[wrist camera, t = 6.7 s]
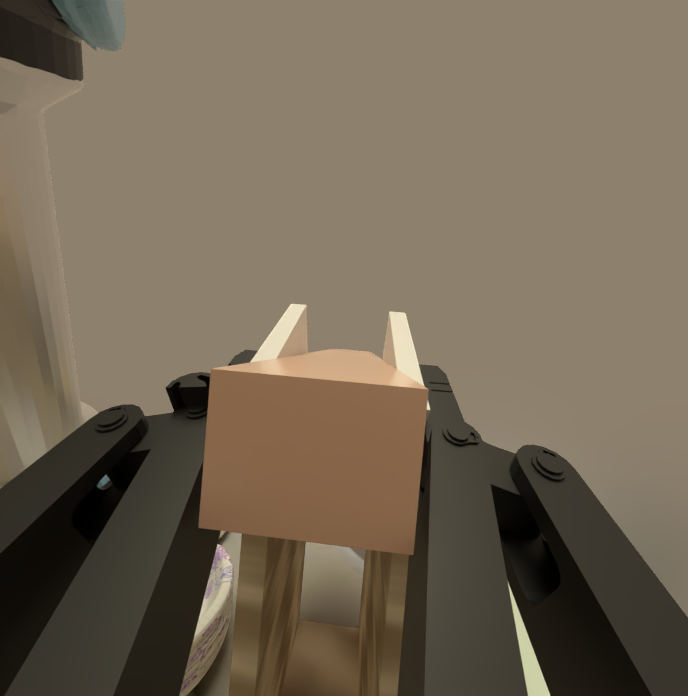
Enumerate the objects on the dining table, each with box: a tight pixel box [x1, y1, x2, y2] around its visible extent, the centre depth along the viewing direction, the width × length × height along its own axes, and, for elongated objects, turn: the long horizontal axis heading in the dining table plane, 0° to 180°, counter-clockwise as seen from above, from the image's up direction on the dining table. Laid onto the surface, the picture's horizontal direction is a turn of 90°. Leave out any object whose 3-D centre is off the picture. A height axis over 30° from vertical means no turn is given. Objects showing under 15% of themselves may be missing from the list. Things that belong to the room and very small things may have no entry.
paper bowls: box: [179, 544, 234, 696], centre depth 27 cm, size 15×15×8 cm
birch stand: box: [229, 533, 409, 696], centre depth 23 cm, size 16×10×30 cm, turn 177°
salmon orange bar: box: [198, 349, 429, 555], centre depth 18 cm, size 26×4×3 cm, turn 177°
